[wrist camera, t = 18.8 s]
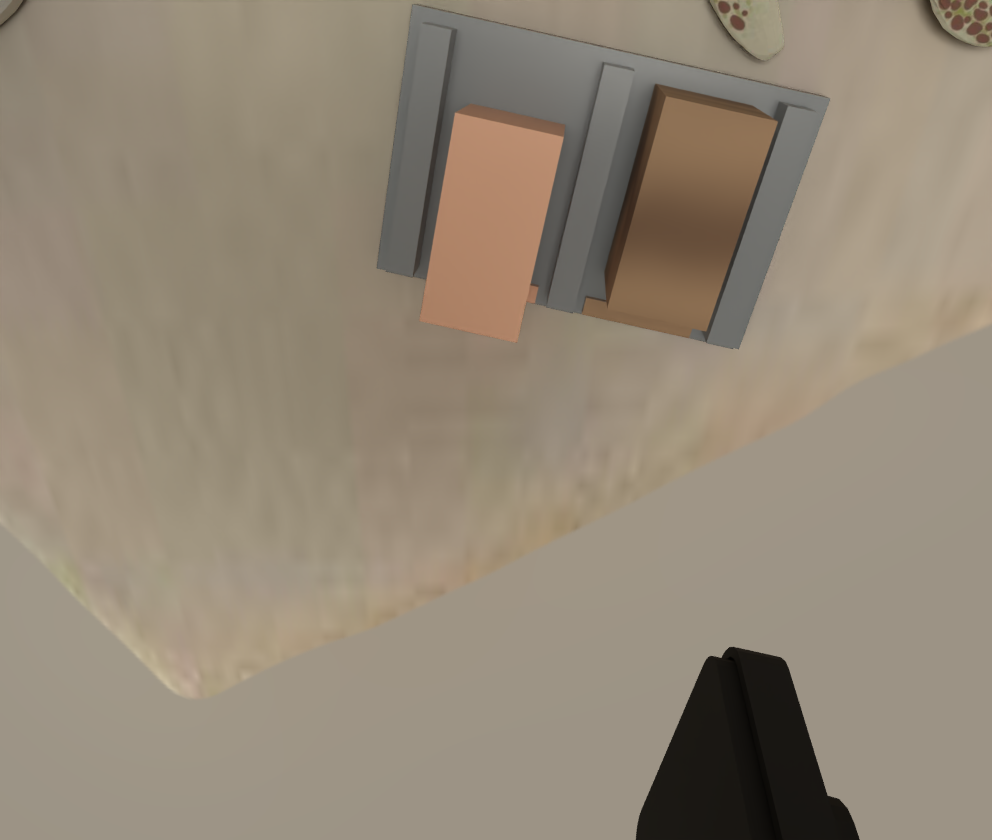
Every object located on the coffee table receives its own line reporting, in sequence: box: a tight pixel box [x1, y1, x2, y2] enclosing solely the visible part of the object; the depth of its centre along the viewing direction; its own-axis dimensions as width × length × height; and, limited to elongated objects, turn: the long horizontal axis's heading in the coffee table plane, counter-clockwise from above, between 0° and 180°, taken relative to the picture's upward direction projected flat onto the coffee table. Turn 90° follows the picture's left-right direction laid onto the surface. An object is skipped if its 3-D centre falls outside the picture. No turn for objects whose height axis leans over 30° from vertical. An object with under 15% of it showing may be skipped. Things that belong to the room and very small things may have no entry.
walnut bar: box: [604, 83, 778, 331], centre depth 33 cm, size 8×4×5 cm, turn 169°
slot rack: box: [377, 4, 830, 349], centre depth 35 cm, size 17×11×3 cm, turn 79°
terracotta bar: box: [419, 104, 565, 343], centre depth 34 cm, size 8×4×5 cm, turn 169°
